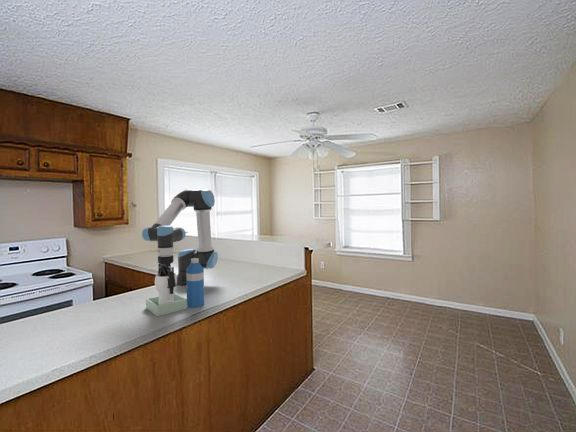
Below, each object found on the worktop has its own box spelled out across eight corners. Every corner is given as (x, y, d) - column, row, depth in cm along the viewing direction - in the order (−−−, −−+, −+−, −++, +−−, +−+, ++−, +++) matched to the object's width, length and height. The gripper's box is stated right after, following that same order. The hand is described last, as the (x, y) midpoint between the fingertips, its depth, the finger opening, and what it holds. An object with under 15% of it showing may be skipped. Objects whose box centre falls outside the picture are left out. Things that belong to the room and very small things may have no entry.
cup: (167, 307, 144) (166, 277, 144) (150, 305, 148) (149, 276, 147) (181, 300, 154) (181, 272, 154) (165, 298, 158) (165, 271, 157)
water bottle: (199, 300, 164) (198, 256, 163) (207, 304, 157) (207, 258, 156) (183, 304, 157) (182, 258, 156) (191, 308, 150) (190, 261, 149)
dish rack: (174, 301, 162) (174, 292, 162) (187, 308, 151) (186, 298, 151) (146, 308, 151) (145, 298, 151) (157, 316, 140) (157, 306, 140)
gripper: (149, 253, 156) (150, 294, 156) (167, 259, 139) (168, 304, 140) (164, 251, 161) (164, 291, 162) (182, 257, 144) (183, 300, 145)
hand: (166, 297), depth 151 cm, fingers closed on cup, 10 cm apart
